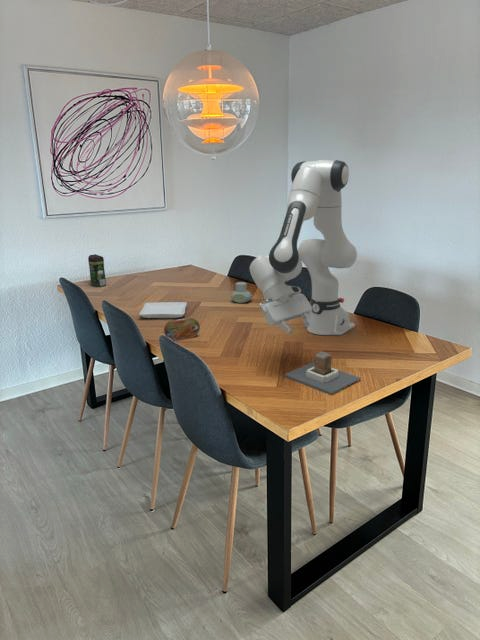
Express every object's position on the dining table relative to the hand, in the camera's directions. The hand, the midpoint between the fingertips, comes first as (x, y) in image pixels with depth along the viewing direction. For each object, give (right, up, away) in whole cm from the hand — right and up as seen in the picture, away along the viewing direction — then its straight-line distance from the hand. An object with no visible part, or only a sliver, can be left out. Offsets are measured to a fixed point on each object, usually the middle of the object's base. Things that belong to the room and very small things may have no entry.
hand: (299, 329), depth 172 cm
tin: (-45, -5, +37) cm, 58 cm away
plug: (+7, -16, -3) cm, 18 cm away
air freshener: (-20, +13, +90) cm, 93 cm away
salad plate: (-57, +6, +71) cm, 92 cm away
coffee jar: (-106, +24, +128) cm, 168 cm away
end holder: (+7, -17, -3) cm, 18 cm away
